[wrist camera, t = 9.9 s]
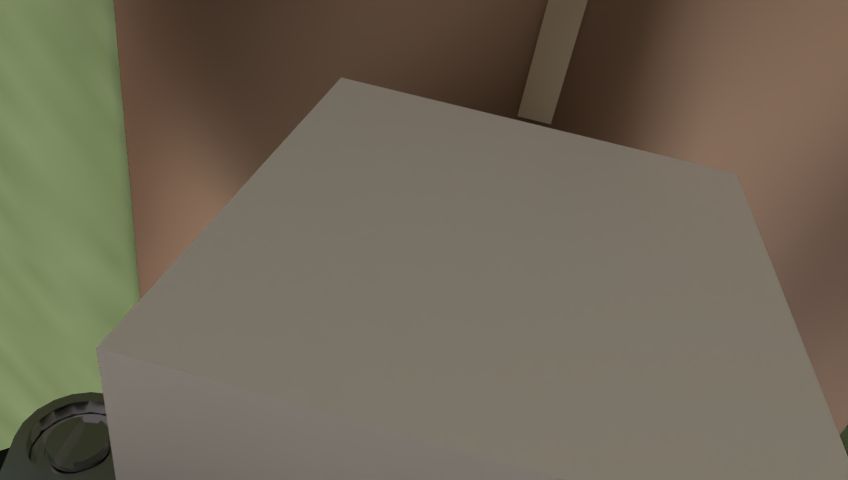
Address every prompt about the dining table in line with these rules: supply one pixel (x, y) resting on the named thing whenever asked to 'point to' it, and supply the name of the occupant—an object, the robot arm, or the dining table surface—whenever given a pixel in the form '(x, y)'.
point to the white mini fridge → (467, 316)
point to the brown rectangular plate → (513, 106)
